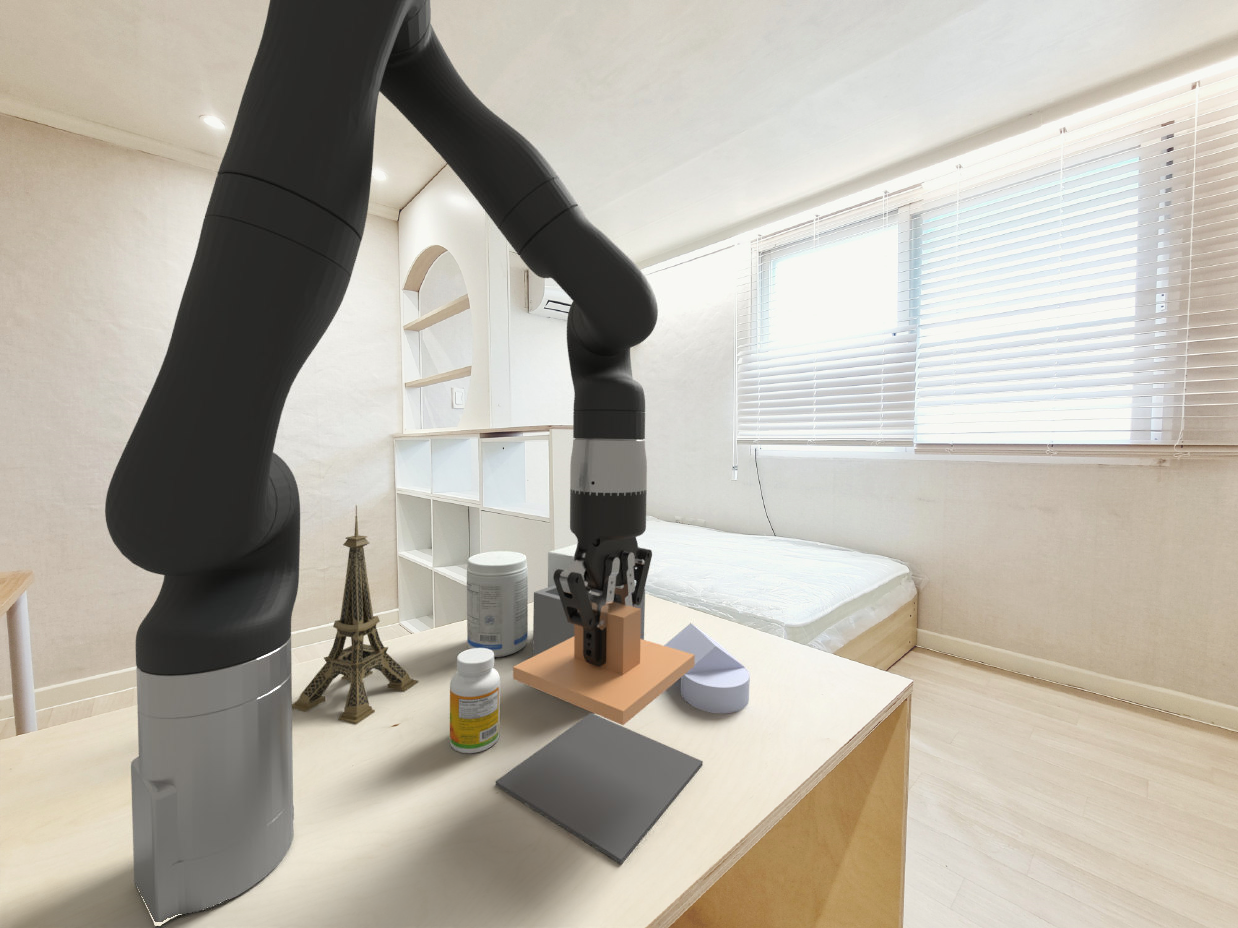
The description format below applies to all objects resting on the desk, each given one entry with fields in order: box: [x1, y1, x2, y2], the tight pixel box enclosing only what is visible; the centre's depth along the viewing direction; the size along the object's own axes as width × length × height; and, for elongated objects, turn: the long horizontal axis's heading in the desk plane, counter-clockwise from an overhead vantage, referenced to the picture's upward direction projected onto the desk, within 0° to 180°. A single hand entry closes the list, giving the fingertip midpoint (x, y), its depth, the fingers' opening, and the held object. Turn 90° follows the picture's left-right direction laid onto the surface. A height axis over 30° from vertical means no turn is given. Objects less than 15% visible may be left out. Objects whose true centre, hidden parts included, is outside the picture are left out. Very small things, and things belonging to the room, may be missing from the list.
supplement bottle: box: [449, 648, 501, 754], centre depth 55 cm, size 5×5×10 cm
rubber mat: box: [495, 712, 703, 865], centre depth 50 cm, size 15×15×1 cm
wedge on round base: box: [663, 622, 751, 714], centre depth 68 cm, size 9×7×13 cm
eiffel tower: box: [292, 504, 419, 725], centre depth 63 cm, size 11×11×25 cm
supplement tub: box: [466, 550, 529, 658], centre depth 79 cm, size 10×10×15 cm
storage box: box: [532, 585, 646, 657], centre depth 68 cm, size 11×11×13 cm
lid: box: [512, 602, 695, 726], centre depth 49 cm, size 13×13×8 cm
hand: (606, 655), depth 49 cm, fingers closed on lid, 3 cm apart
